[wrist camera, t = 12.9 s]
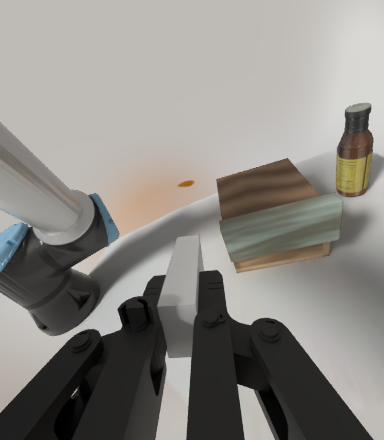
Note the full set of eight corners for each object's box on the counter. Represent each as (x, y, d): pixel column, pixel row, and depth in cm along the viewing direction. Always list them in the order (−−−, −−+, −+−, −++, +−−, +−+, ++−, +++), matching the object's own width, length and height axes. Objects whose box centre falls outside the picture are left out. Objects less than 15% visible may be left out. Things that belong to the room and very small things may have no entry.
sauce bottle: (352, 180, 55) (362, 97, 43) (373, 191, 50) (392, 100, 38) (328, 190, 55) (332, 110, 44) (347, 202, 50) (357, 114, 39)
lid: (339, 239, 35) (343, 200, 30) (231, 261, 39) (220, 230, 34) (288, 173, 55) (286, 143, 50) (220, 192, 58) (212, 166, 54)
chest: (329, 255, 41) (331, 216, 35) (237, 273, 45) (226, 240, 39) (290, 195, 59) (288, 162, 53) (226, 212, 62) (217, 183, 57)
